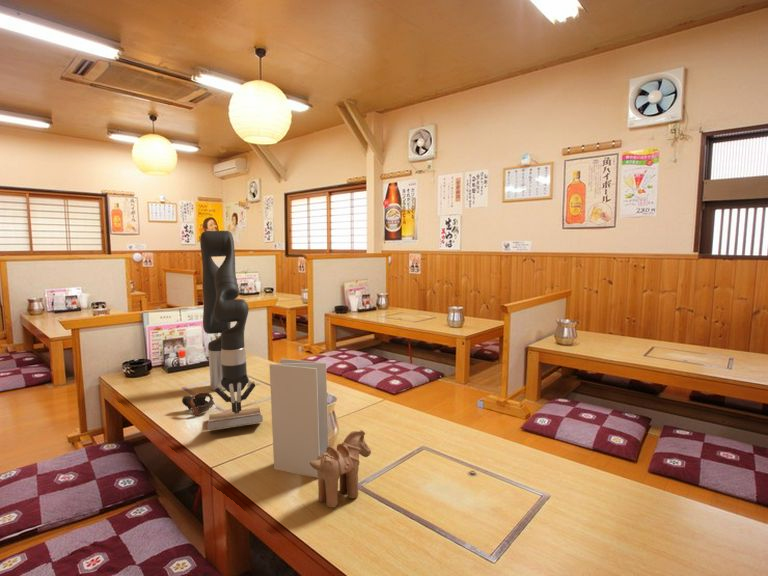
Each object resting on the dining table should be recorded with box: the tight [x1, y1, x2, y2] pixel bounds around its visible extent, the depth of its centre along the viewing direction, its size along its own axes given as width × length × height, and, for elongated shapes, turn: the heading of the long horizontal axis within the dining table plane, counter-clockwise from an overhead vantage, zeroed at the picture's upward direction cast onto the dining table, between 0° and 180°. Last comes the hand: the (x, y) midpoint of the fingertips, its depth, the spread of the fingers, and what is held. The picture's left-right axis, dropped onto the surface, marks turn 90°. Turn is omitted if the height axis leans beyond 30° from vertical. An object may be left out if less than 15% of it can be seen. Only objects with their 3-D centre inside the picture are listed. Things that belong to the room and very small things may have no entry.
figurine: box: [310, 429, 372, 508], centre depth 104 cm, size 7×18×15 cm, turn 132°
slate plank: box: [206, 414, 264, 431], centre depth 141 cm, size 7×17×2 cm, turn 110°
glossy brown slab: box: [208, 407, 262, 423], centre depth 149 cm, size 8×17×2 cm, turn 111°
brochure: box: [269, 358, 329, 479], centre depth 115 cm, size 14×6×30 cm, turn 71°
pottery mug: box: [181, 391, 216, 417], centre depth 156 cm, size 12×10×8 cm
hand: (236, 412), depth 138 cm, fingers closed
